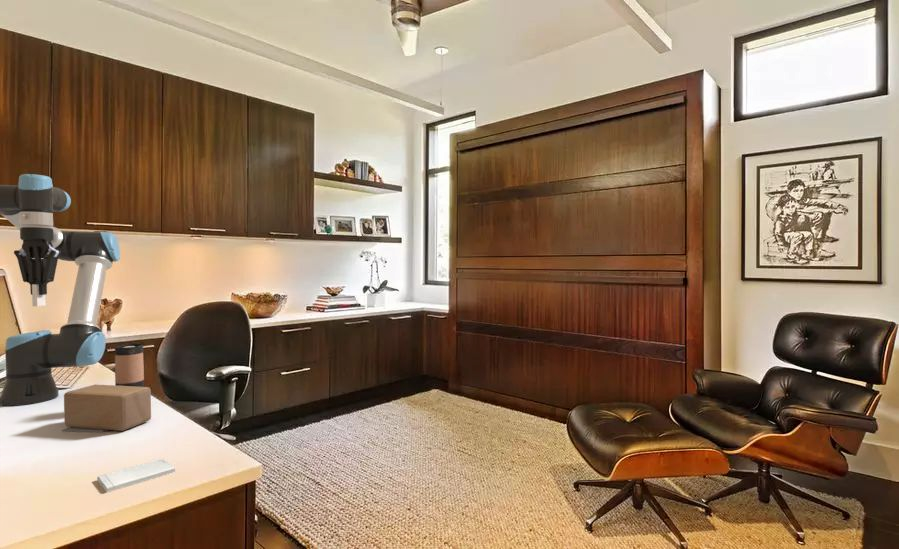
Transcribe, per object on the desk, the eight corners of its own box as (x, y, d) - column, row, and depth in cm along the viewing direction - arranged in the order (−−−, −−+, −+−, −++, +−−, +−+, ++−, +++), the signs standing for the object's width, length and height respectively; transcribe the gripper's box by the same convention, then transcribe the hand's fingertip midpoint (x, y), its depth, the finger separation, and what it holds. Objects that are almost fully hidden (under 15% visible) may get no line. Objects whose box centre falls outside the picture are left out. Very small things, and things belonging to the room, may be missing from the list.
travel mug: (150, 405, 153) (148, 344, 153) (127, 412, 146) (126, 348, 146) (133, 403, 156) (132, 343, 156) (109, 409, 149) (108, 347, 148)
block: (62, 427, 131) (122, 432, 127) (61, 392, 131) (122, 395, 127) (95, 416, 141) (152, 420, 137) (95, 383, 141) (152, 386, 137)
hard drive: (163, 457, 108) (97, 475, 99) (175, 467, 103) (106, 487, 94) (163, 464, 108) (97, 482, 99) (175, 475, 103) (106, 495, 94)
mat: (62, 431, 129) (62, 430, 129) (106, 414, 144) (106, 413, 144) (102, 432, 128) (102, 431, 128) (143, 415, 143) (143, 414, 143)
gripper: (3, 226, 137) (6, 307, 137) (45, 226, 136) (48, 307, 136) (28, 228, 144) (30, 304, 145) (68, 227, 143) (70, 304, 144)
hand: (39, 305), depth 141 cm, fingers closed
